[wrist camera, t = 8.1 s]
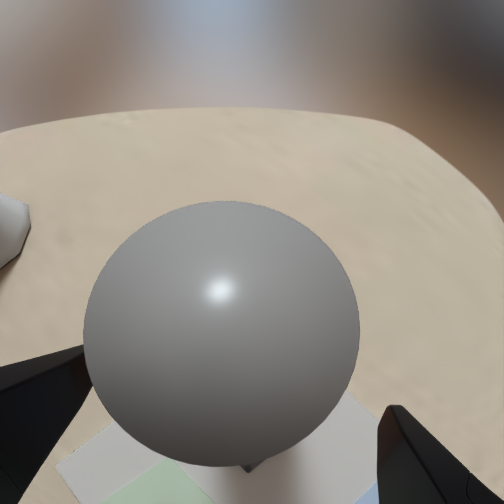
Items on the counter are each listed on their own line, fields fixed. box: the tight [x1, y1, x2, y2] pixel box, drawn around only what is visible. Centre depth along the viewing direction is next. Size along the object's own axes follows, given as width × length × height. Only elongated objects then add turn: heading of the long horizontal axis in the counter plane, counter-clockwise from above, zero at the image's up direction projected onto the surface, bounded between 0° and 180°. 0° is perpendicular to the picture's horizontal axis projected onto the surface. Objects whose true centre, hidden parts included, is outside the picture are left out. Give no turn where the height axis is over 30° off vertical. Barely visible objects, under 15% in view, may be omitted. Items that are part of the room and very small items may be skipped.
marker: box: [83, 201, 360, 467], centre depth 10 cm, size 4×4×12 cm
